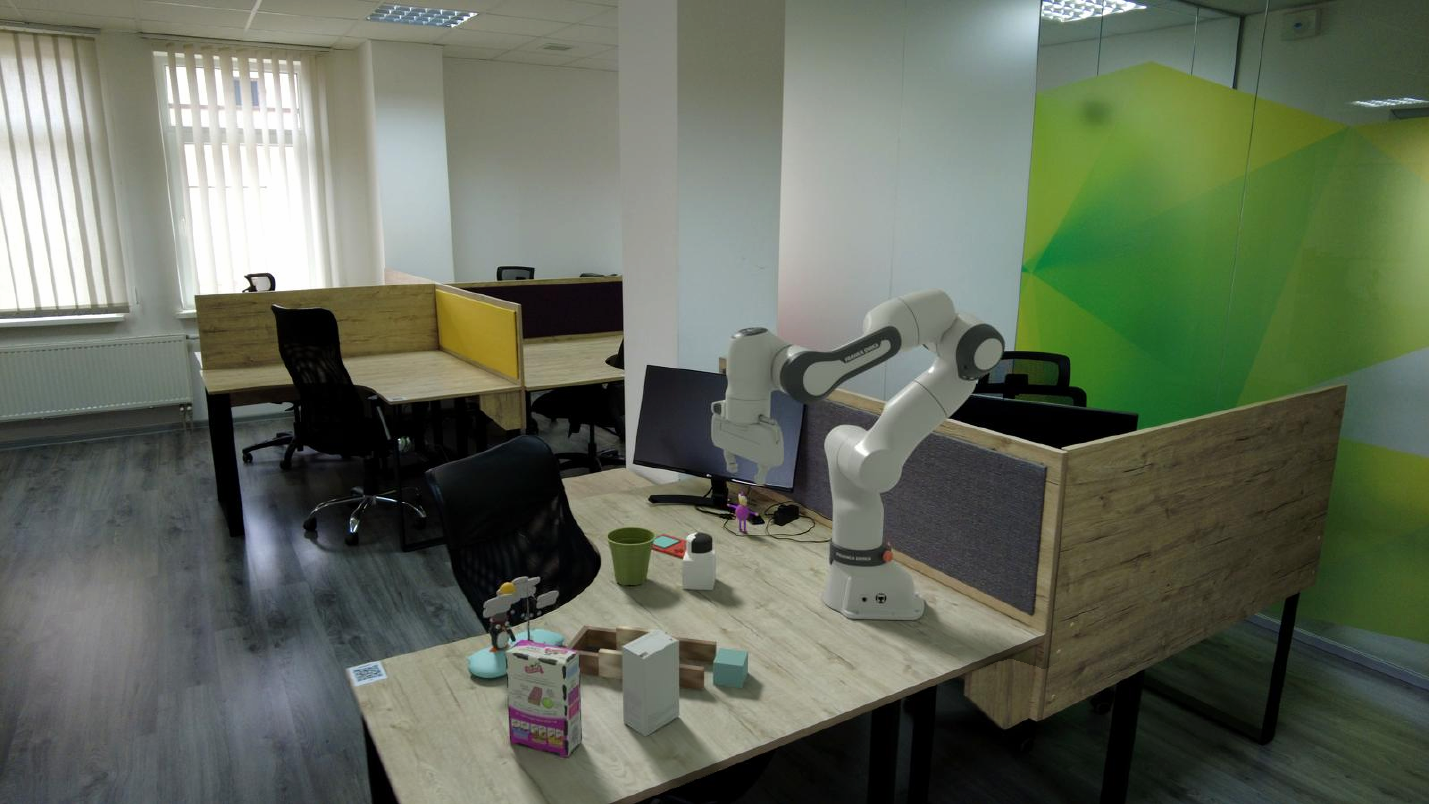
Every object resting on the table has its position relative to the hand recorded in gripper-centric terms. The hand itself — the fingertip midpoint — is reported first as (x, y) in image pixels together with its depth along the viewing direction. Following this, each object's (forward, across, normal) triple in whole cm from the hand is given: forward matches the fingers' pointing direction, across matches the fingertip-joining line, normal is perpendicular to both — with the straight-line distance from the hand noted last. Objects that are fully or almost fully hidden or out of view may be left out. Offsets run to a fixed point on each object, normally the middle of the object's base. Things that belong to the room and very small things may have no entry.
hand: (745, 477), depth 170 cm
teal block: (+33, -14, +12) cm, 38 cm away
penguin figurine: (+34, +14, +43) cm, 57 cm away
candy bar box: (+34, -14, +49) cm, 61 cm away
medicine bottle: (+33, +24, -5) cm, 41 cm away
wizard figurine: (+33, +46, -32) cm, 65 cm away
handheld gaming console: (+34, +47, -11) cm, 59 cm away
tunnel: (+33, -1, +25) cm, 42 cm away
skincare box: (+34, -18, +32) cm, 50 cm away
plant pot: (+34, +34, +7) cm, 49 cm away
